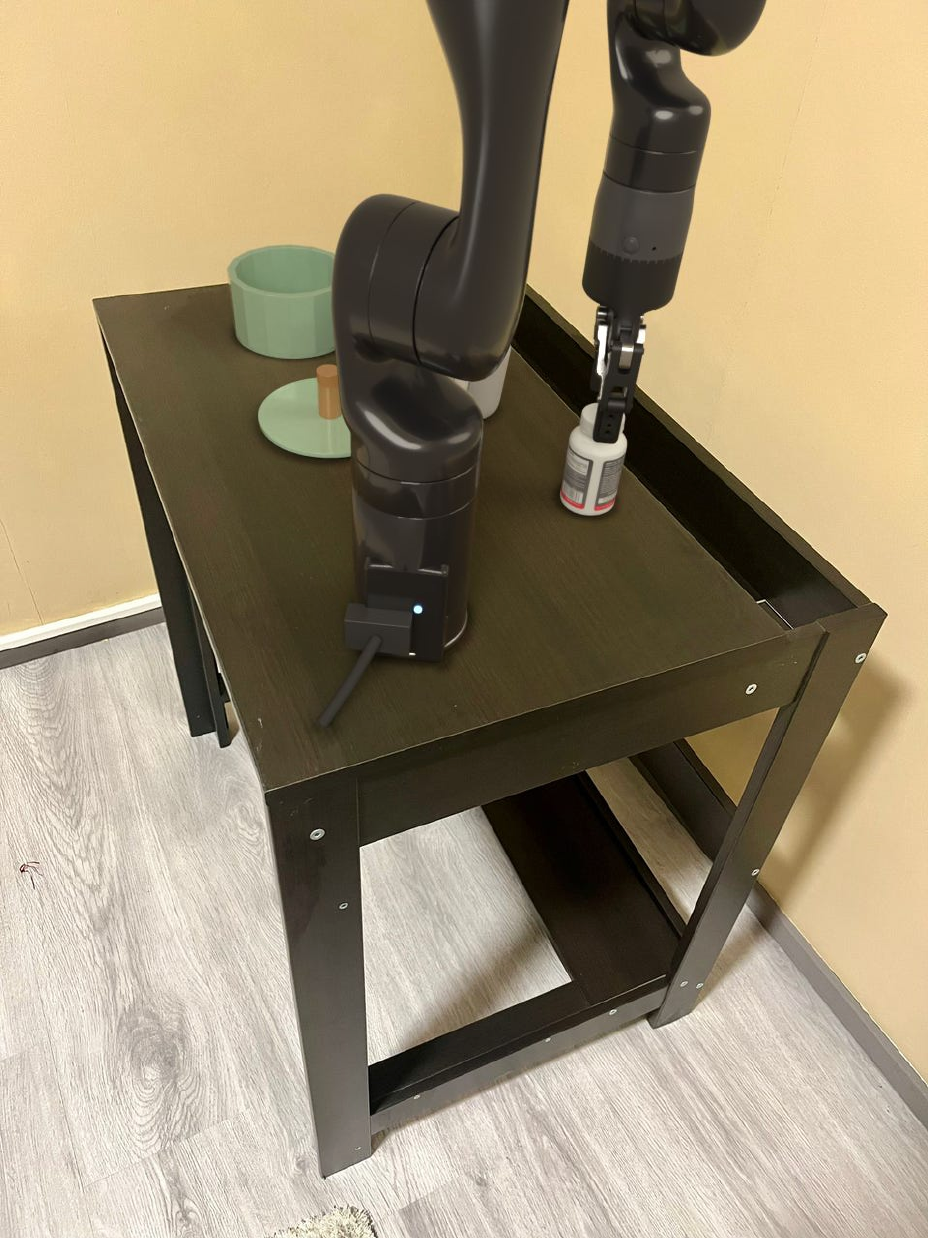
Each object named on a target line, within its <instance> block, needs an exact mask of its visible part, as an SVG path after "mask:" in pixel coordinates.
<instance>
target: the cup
mask: <svg viewBox="0 0 928 1238" xmlns="http://www.w3.org/2000/svg"><path fill="white" fill-rule="evenodd" d="M511 352H512V344H511V345H510V348H509V350H508V352H507V354H506V356H505V358H504V359H503V361H502V363H501V364H500V366H499V367H498V368H497V370H496V371H495V372H494V373H493V374H492V375H490V376H489V377H487V378H486V379H484V380H481V381H477V382H469V381H463V380H458V379H455V378H451V377H450V378H451V379H453V380H454V381H455V382H456V383H457V384H458V385H460V386H461V387H462V388H463V389H465V390H466V391H467V392H468V393H469V394H470V395H471V396H472V397H473V398H474V400H475V401H476V402H477V404H478V405H479V407H480V409H481V412H482V415H483V420H484V419H487V418H489V417H490V416H492V415H493V414H494V413H495V412H496V411H497V409H498V406H499V404H500V401H501V396H502V392H503V388H504V384H505V379H506V375H507V374H506V373H507V370H508V365H509V360H510V357H511Z"/></svg>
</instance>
